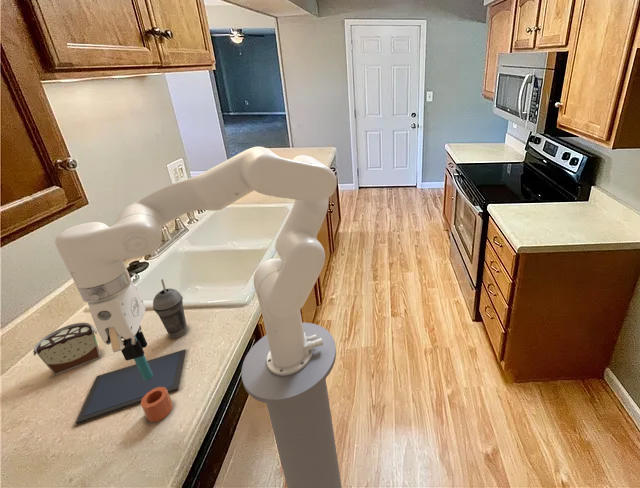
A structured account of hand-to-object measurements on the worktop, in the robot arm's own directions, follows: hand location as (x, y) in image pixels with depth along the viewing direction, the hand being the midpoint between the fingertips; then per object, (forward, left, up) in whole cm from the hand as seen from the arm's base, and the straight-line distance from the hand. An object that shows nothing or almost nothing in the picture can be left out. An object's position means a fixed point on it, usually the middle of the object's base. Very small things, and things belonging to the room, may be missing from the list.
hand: (137, 352), depth 71 cm
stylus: (0, 0, -8) cm, 8 cm away
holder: (0, 0, -19) cm, 19 cm away
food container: (+24, -27, -19) cm, 41 cm away
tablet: (+7, -11, -19) cm, 23 cm away
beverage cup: (0, -26, -19) cm, 32 cm away
